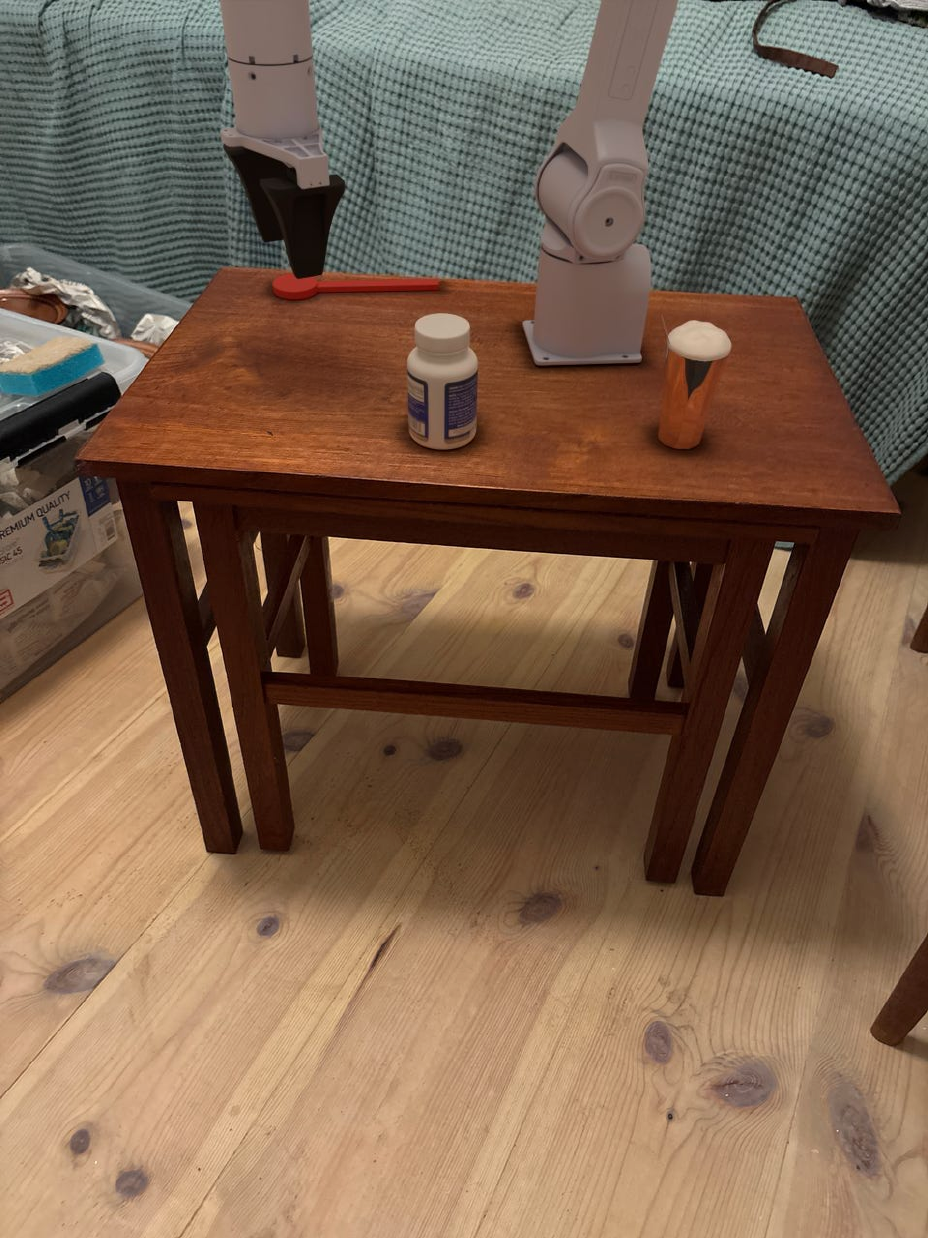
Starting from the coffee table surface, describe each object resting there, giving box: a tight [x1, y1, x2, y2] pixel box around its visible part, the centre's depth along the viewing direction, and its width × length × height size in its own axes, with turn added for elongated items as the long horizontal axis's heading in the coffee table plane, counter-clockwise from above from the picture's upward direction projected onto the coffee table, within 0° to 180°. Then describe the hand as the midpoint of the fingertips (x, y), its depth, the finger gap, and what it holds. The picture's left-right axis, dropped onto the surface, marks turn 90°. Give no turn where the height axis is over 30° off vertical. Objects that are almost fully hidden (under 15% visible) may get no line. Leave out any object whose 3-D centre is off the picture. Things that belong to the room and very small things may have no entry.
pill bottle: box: [406, 312, 479, 450], centre depth 69 cm, size 5×5×9 cm
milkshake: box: [657, 316, 732, 450], centre depth 69 cm, size 4×5×10 cm
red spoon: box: [272, 272, 440, 300], centre depth 90 cm, size 16×4×1 cm, turn 96°
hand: (291, 256), depth 71 cm, fingers open, 7 cm apart
